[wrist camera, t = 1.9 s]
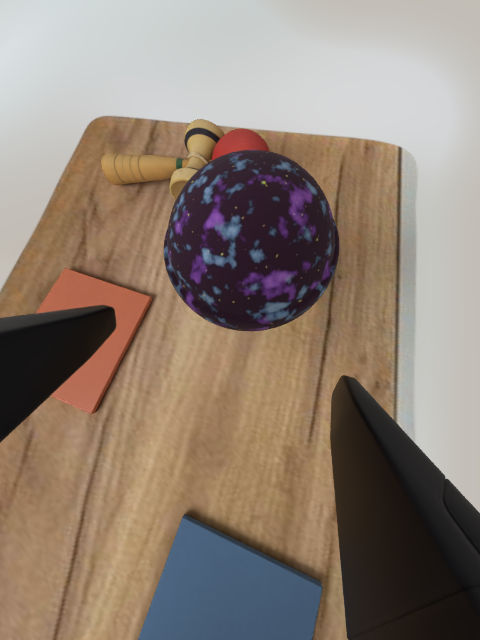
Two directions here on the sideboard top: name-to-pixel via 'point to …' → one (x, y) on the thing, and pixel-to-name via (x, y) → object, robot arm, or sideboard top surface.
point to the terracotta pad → (101, 367)
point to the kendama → (202, 147)
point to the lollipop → (251, 241)
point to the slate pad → (228, 592)
